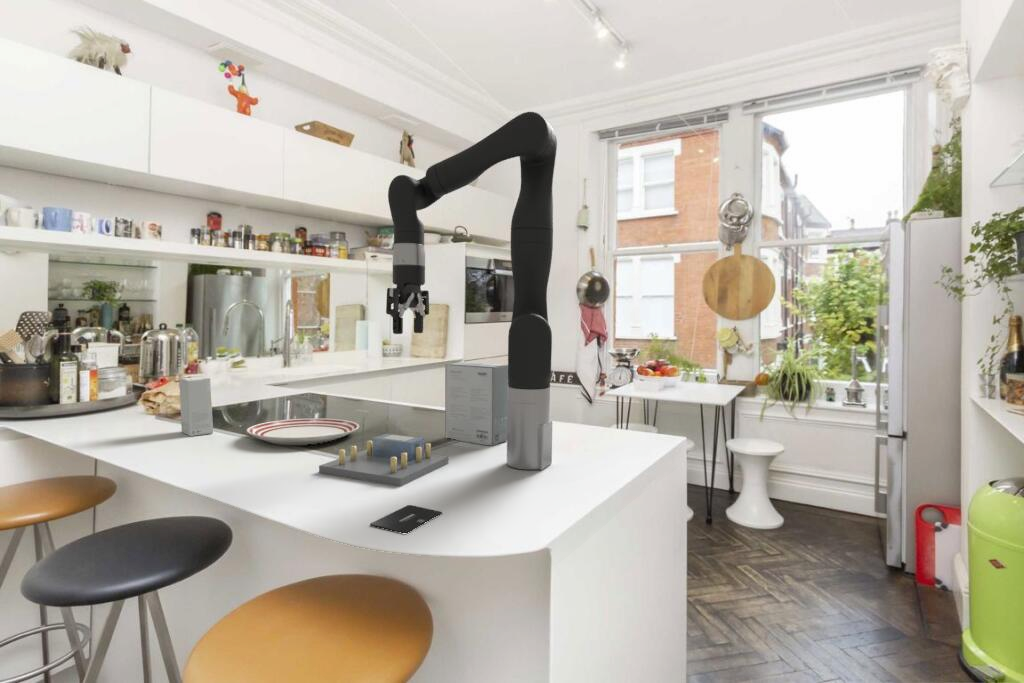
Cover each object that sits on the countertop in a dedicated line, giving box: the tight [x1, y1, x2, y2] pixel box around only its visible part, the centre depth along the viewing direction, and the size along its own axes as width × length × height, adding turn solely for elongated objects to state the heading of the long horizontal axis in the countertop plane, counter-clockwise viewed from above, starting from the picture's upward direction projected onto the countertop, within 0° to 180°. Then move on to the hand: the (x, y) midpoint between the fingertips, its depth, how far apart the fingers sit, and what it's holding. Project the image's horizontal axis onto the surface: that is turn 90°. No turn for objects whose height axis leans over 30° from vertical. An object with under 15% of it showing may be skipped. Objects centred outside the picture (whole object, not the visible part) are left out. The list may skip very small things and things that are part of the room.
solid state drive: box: [369, 504, 443, 534], centre depth 89 cm, size 7×10×1 cm
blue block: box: [372, 433, 425, 461], centre depth 122 cm, size 10×5×4 cm, turn 67°
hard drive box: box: [444, 362, 508, 446], centre depth 145 cm, size 16×8×20 cm, turn 58°
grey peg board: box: [318, 440, 449, 487], centre depth 118 cm, size 20×18×4 cm
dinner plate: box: [246, 418, 360, 446], centre depth 145 cm, size 27×27×3 cm
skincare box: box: [178, 376, 214, 437], centre depth 148 cm, size 8×6×15 cm
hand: (408, 333), depth 131 cm, fingers open, 8 cm apart
